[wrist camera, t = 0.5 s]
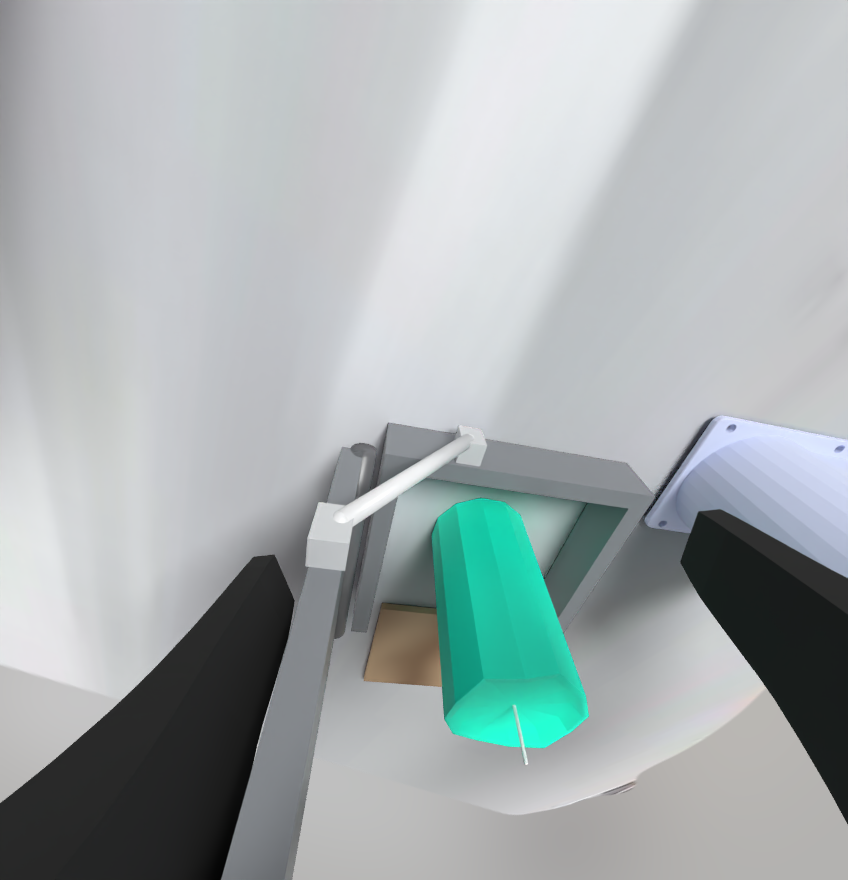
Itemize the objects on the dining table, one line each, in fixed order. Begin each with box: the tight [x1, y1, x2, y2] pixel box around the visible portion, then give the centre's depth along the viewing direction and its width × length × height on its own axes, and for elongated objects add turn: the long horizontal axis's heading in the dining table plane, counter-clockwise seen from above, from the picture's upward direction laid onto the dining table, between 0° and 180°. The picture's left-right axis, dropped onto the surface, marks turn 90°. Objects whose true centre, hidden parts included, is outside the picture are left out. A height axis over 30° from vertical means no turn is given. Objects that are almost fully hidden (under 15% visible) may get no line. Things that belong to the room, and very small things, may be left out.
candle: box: [432, 498, 589, 765], centre depth 20 cm, size 6×6×12 cm
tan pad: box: [364, 603, 442, 687], centre depth 31 cm, size 10×10×1 cm
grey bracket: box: [221, 423, 655, 880], centre depth 17 cm, size 16×15×17 cm
